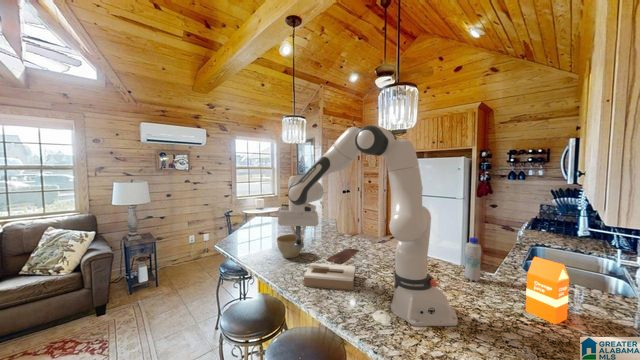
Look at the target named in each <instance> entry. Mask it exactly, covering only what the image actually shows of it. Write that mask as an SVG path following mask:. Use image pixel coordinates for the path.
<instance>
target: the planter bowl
mask: <svg viewBox="0 0 640 360" xmlns="http://www.w3.org/2000/svg"><path fill="white" fill-rule="evenodd" d="M304 239H305V238H304V235H301V242H303V243H304ZM276 243H277V248H278V250H279V252H280V253H281V255H282V257H283V258H286V259H294V258H298V256H299V254H300V253H301V251H302V248H294V243H296V235H293V233H292V234H283V235H280V236H278V237H276Z"/></svg>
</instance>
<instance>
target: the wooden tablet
mask: <svg viewBox="0 0 640 360" xmlns="http://www.w3.org/2000/svg"><path fill="white" fill-rule="evenodd" d="M358 252H359V249H356V248H345V249H343V250H341V251H339V252H337V253H335V254H333V255H332V256H330V257H327V259H326V261H327V262H330V263H333V262H334V264H335V265H341V264H343V263H344V262H347V261H348V260H349V259H350V258H351V257H353V256H354V255H356V254H357V253H358Z"/></svg>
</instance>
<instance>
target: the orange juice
mask: <svg viewBox="0 0 640 360" xmlns="http://www.w3.org/2000/svg"><path fill="white" fill-rule="evenodd" d="M526 276H527V277H526V289H525V291H526V292H525V294H526V295H525V296H526V297H525V298H526V299H525V312H528V313H529V314H531V315H533V316H536V317H538V318H540V319H542V320H545V321H547V322H548V323H550V324H553V325H557V324H560V323H562V322H564V321H565V320H567V319H568V305H569V304H568V303H569V287H570V277H569V275H568V272H567V270H566V267H565V264H562V263H559V262H555V261H552V260H548V259H545V258H541V257H538V256H534V257H533V258H532V262H531V263H530V266H529V268H528V270H527V274H526Z"/></svg>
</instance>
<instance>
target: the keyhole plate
mask: <svg viewBox="0 0 640 360" xmlns="http://www.w3.org/2000/svg"><path fill="white" fill-rule="evenodd" d="M355 279H356V266H355V265H347V264H346V265H343V264H342V265H341V264H329V263H314V262H311V263H310V264H309V267H308V268H307V270H306V271H305V273H304V275H303V282H304V283H303V284H304V285H303V286H304V287H311V288H313V287H314V288H321V289H322V288H325V289H335V290H345V291H346V290H347V291H354V287H355V285H354V284H355V283H354V281H355Z"/></svg>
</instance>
